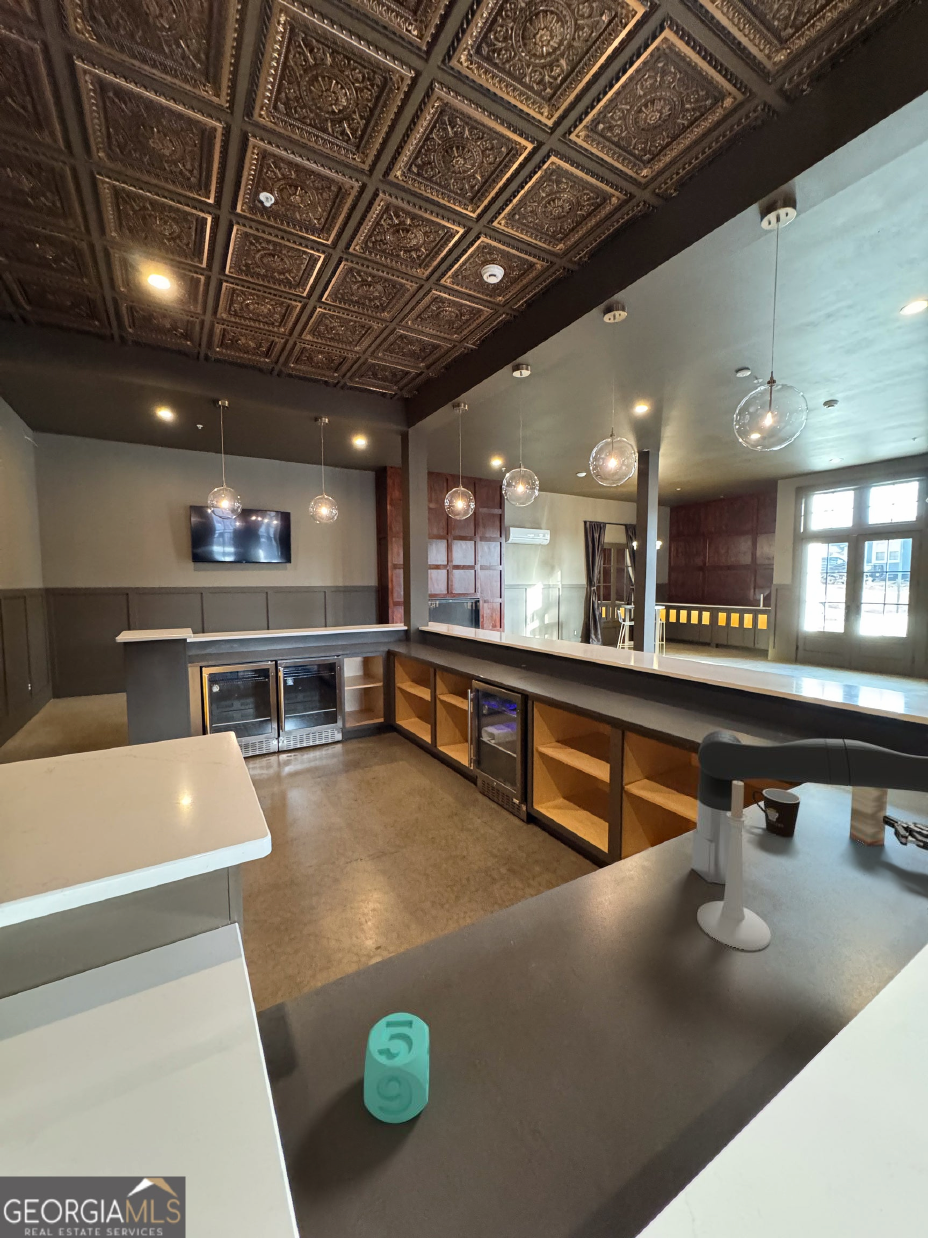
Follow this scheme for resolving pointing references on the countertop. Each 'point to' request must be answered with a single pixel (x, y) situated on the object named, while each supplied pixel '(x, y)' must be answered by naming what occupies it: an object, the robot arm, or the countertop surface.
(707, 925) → the candlestick
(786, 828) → the coffee mug
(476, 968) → the countertop surface
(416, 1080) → the decorative dice
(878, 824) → the maple block
